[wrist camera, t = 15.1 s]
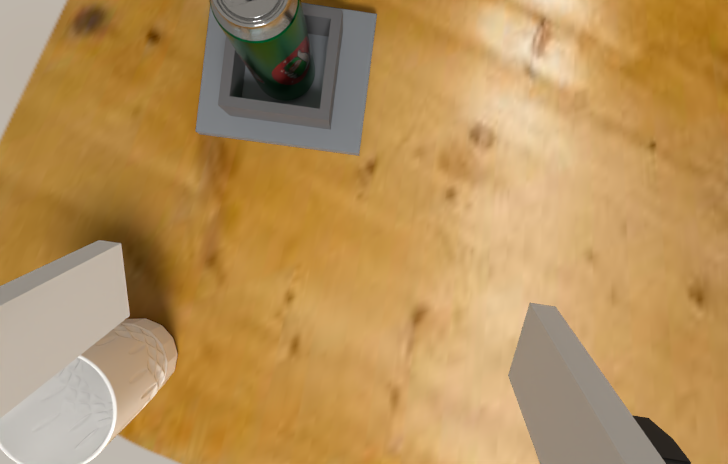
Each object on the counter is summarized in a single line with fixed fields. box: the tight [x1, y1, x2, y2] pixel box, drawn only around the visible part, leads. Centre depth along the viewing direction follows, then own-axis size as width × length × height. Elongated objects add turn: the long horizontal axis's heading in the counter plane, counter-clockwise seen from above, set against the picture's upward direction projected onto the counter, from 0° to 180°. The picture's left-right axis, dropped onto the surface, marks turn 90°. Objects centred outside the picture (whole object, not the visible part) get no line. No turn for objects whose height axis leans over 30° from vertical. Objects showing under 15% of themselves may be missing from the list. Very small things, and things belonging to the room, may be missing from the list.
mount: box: [196, 3, 377, 156], centre depth 32 cm, size 14×12×4 cm
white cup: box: [0, 318, 178, 464], centre depth 29 cm, size 8×8×10 cm
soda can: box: [210, 0, 315, 101], centre depth 27 cm, size 5×5×12 cm
